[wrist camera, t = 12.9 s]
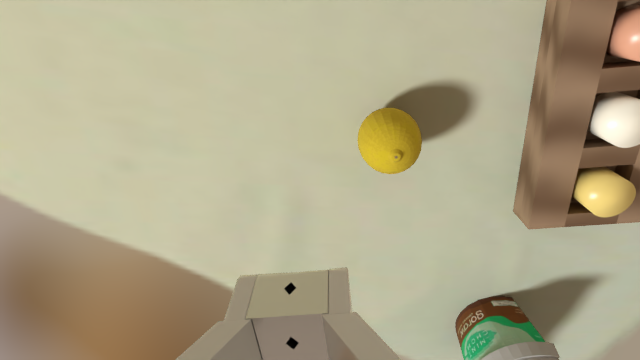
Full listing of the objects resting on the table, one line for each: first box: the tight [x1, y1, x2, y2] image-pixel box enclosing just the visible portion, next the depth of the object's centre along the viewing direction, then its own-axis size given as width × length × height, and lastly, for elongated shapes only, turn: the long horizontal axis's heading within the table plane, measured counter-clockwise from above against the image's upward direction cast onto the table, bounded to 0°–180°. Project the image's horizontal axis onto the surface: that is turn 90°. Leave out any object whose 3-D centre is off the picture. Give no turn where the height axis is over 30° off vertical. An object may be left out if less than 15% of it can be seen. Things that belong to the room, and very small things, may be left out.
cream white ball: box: [587, 92, 640, 148], centre depth 32 cm, size 4×4×4 cm
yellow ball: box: [572, 166, 636, 217], centre depth 35 cm, size 4×4×4 cm
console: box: [513, 0, 640, 229], centre depth 33 cm, size 22×12×4 cm, turn 5°
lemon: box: [358, 108, 422, 174], centre depth 33 cm, size 6×6×8 cm
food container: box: [455, 296, 559, 360], centre depth 43 cm, size 12×6×10 cm, turn 164°
